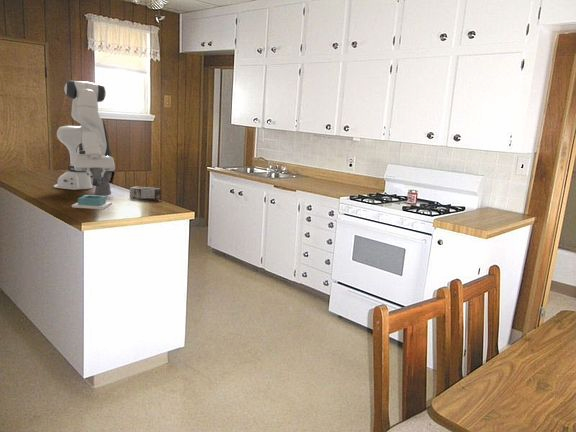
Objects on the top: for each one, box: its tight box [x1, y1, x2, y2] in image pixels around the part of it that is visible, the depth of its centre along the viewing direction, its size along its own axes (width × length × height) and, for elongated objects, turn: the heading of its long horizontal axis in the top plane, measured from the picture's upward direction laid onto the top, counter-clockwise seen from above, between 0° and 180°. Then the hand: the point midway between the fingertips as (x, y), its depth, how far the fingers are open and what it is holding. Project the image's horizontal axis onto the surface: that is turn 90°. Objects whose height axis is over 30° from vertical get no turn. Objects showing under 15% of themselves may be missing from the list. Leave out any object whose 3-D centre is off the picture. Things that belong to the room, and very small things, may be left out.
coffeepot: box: [94, 170, 116, 196], centre depth 281 cm, size 15×9×18 cm, turn 68°
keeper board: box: [71, 194, 113, 210], centre depth 247 cm, size 16×14×5 cm
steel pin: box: [91, 168, 101, 187], centre depth 245 cm, size 4×4×9 cm
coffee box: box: [129, 185, 162, 202], centre depth 277 cm, size 9×6×16 cm
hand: (96, 176), depth 244 cm, fingers closed on steel pin, 4 cm apart
